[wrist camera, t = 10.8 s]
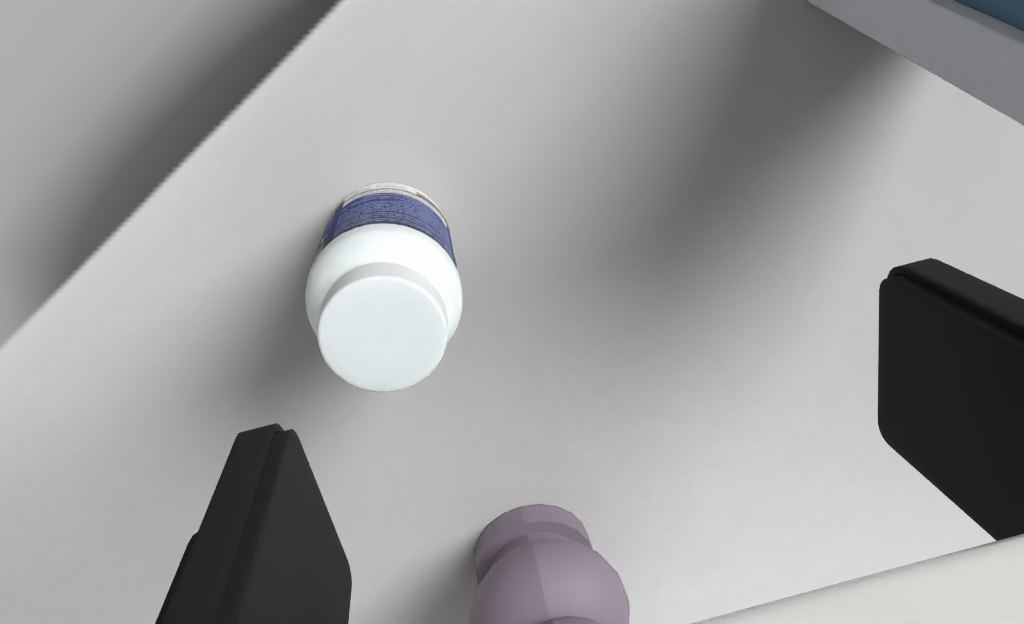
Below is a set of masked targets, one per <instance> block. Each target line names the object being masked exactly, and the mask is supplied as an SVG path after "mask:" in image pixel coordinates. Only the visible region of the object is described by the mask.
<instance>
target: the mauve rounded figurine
mask: <svg viewBox="0 0 1024 624" xmlns="http://www.w3.org/2000/svg"><path fill="white" fill-rule="evenodd" d="M475 563H476V572H477V580H478V588H477V591H476V594H475V598H474V601H473V604H472V608H471V611H470V615H469V624H629V601H628V597H627V594H626V592H625V589H624V587H623V584H622V581H621V579H620V577H619V575H618V573H617V572H616V570H615V569H614V568H613V567H612V566H611V565H610V564H609V563H608V562H607V561H606V560H605V559H604V558H603V557H602V556H601V555H600V554H599V553H598V552H596V551H595V550H593V549H592V546H591V543H590V540H589V537H588V535H587V532H586V530H585V528H584V526H583V523H581V522H580V521H579V520H578V519H577V518H576V517H575V516H574V515H573V514H572V513H570V512H568V511H566V510H563V509H561V508H559V507H557V506H549V505H541V504H537V505H530V506H523V507H519V508H516V509H514V510H511V511H509V512H507V513H504V514H502V515H501V516H500V517H498V518H497V519H496V520H494V521H493V522H492V523H490V524H489V525H488V526H487V528H486V529H485V531H484V532H483V533H482V535H481V536H480V537H479V539H478V543H477V546H476V549H475Z"/></svg>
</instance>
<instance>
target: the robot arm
mask: <svg viewBox="0 0 1024 624" xmlns="http://www.w3.org/2000/svg"><path fill="white" fill-rule="evenodd" d="M878 426H879V429H880V432H881V434H882V437H883V438H884V440H885V441H886V442H887V443H888V445H889V446H891V447H892V448H893V449H894V450H895V451H896V452H897V453H898V454H900V455H901V456H902V457H903V458H904V459H905V460H906V461H907V462H909V463H910V464H911V465H912V466H913V467H914V468H915V469H916V470H918V471H919V472H920V473H921V474H922V475H923V476H924V477H925V478H927V479H928V480H929V481H930V482H931V483H932V484H933V485H934V486H936V487H937V488H938V489H939V490H940V491H941V492H942V493H943V494H945V495H946V496H947V497H948V498H949V499H950V500H951V501H952V502H954V503H955V504H956V505H957V506H958V507H959V508H960V509H962V510H963V511H964V512H965V513H966V514H967V515H968V516H969V517H971V518H972V519H973V520H974V521H975V522H976V523H977V524H978V525H980V526H981V527H982V528H983V529H984V530H985V531H986V532H987V533H989V534H990V535H991V536H992V537H993V538H994V539H995V540H996V541H995V542H991V543H987V544H984V545H980V546H976V547H972V548H969V549H965V550H961V551H957V552H954V553H950V554H946V555H942V556H939V557H935V558H931V559H927V560H924V561H920V562H916V563H912V564H909V565H905V566H901V567H897V568H894V569H890V570H886V571H883V572H879V573H875V574H872V575H868V576H864V577H861V578H857V579H853V580H850V581H846V582H842V583H839V584H835V585H831V586H828V587H824V588H820V589H817V590H813V591H809V592H806V593H802V594H798V595H794V596H791V597H787V598H783V599H780V600H776V601H773V602H769V603H765V604H762V605H758V606H754V607H751V608H747V609H743V610H740V611H736V612H732V613H729V614H725V615H721V616H718V617H714V618H710V619H707V620H703V621H700V622H696V623H692V624H1024V299H1022V298H1019V297H1017V296H1015V295H1013V294H1011V293H1009V292H1006V291H1004V290H1002V289H1000V288H998V287H995V286H993V285H991V284H989V283H987V282H985V281H982V280H980V279H978V278H976V277H974V276H972V275H969V274H967V273H965V272H963V271H961V270H958V269H956V268H954V267H952V266H950V265H948V264H945V263H943V262H941V261H939V260H936V259H932V258H930V259H925V260H921V261H917V262H913V263H909V264H906V265H902V266H898V267H894V268H893V269H892V270H891V271H890V272H889V274H888V277H887V279H884V280H883V281H882V282H881V285H880V290H879V363H878ZM351 588H352V579H351V571H350V567H349V563H348V560H347V557H346V555H345V552H344V550H343V547H342V545H341V542H340V540H339V537H338V535H337V532H336V530H335V527H334V525H333V522H332V520H331V517H330V515H329V512H328V510H327V507H326V505H325V502H324V500H323V497H322V495H321V492H320V490H319V487H318V485H317V482H316V480H315V477H314V475H313V472H312V470H311V467H310V465H309V462H308V460H307V457H306V455H305V452H304V450H303V447H302V445H301V442H300V440H299V437H298V435H297V433H296V432H295V431H294V430H293V429H290V430H286V431H284V430H283V429H282V427H281V426H280V425H279V424H277V423H276V424H272V425H268V426H264V427H260V428H256V429H252V430H248V431H244V432H240V433H238V435H237V437H236V439H235V441H234V444H233V446H232V449H231V451H230V454H229V456H228V459H227V461H226V464H225V466H224V469H223V471H222V474H221V476H220V479H219V481H218V484H217V486H216V489H215V491H214V494H213V496H212V499H211V501H210V503H209V506H208V508H207V511H206V513H205V516H204V518H203V521H202V523H201V526H200V528H199V531H198V532H197V533H196V534H194V535H193V536H192V538H191V540H190V541H189V543H188V545H187V548H186V550H185V553H184V555H183V557H182V560H181V562H180V565H179V567H178V569H177V572H176V574H175V577H174V579H173V582H172V584H171V586H170V589H169V591H168V594H167V596H166V599H165V601H164V603H163V606H162V608H161V611H160V613H159V616H158V618H157V620H156V623H155V624H348V620H349V609H350V599H351Z"/></svg>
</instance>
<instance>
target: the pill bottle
mask: <svg viewBox="0 0 1024 624" xmlns="http://www.w3.org/2000/svg"><path fill="white" fill-rule="evenodd" d="M305 303H306V310H307V315H308V319H309V322H310V324H311V327H312V329H313V331H314V332H315V334H316V336H317V337H318V345H319V349H320V352H321V354H322V356H323V358H324V360H325V362H326V363H327V365H328V366H329V367H330V369H331V370H332V371H333V372H334V373H335V374H336V375H337V376H339V377H340V378H341V379H342V380H344V381H346V382H347V383H349V384H351V385H353V386H355V387H357V388H361V389H364V390H368V391H374V392H392V391H398V390H402V389H405V388H408V387H411V386H413V385H415V384H417V383H418V382H420V381H422V380H423V379H425V378H426V377H427V376H428V375H429V374H431V373H432V371H433V370H434V369H435V368H436V367H437V365H438V364H439V362H440V360H441V359H442V356H443V354H444V352H445V348H446V344H447V343H448V342H449V341H450V339H451V338H452V336H453V334H454V333H455V331H456V329H457V326H458V324H459V321H460V317H461V312H462V304H463V299H462V287H461V282H460V277H459V273H458V268H457V263H456V258H455V253H454V248H453V244H452V239H451V234H450V231H449V227H448V224H447V222H446V219H445V217H444V215H443V213H442V212H441V210H440V209H439V208H438V206H437V205H436V204H435V203H434V202H433V201H432V200H431V199H430V198H429V197H428V196H426V195H425V194H423V193H422V192H420V191H419V190H416V189H414V188H412V187H409V186H407V185H402V184H397V183H376V184H371V185H367V186H365V187H362V188H360V189H358V190H356V191H354V192H352V193H351V194H350V195H348V196H347V197H346V198H344V199H343V200H342V201H341V202H340V203H339V204H338V206H337V207H336V208H335V210H334V211H333V213H332V215H331V217H330V219H329V221H328V224H327V226H326V228H325V231H324V234H323V237H322V239H321V242H320V245H319V247H318V250H317V252H316V255H315V259H314V261H313V264H312V266H311V269H310V272H309V275H308V279H307V284H306V290H305Z"/></svg>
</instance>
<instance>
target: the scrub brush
mask: <svg viewBox="0 0 1024 624" xmlns="http://www.w3.org/2000/svg"><path fill="white" fill-rule="evenodd" d="M808 2H809V3H811V4H813V5H815V6H816V7H818V8H820V9H822V10H823V11H825V12H827V13H829V14H830V15H832V16H834V17H835V18H837V19H839V20H841V21H842V22H844V23H846V24H848V25H849V26H851V27H853V28H855V29H856V30H858V31H860V32H862V33H863V34H865V35H867V36H869V37H870V38H872V39H874V40H876V41H877V42H879V43H881V44H883V45H884V46H886V47H888V48H890V49H891V50H893V51H895V52H897V53H898V54H900V55H902V56H904V57H905V58H907V59H909V60H910V61H912V62H914V63H916V64H917V65H919V66H921V67H923V68H924V69H926V70H928V71H930V72H931V73H933V74H935V75H937V76H938V77H940V78H942V79H944V80H945V81H947V82H949V83H951V84H952V85H954V86H956V87H958V88H959V89H961V90H963V91H965V92H966V93H968V94H970V95H972V96H973V97H975V98H977V99H979V100H980V101H982V102H984V103H985V104H987V105H989V106H991V107H992V108H994V109H996V110H998V111H999V112H1001V113H1003V114H1005V115H1006V116H1008V117H1010V118H1012V119H1013V120H1015V121H1017V122H1019V123H1020V124H1022V125H1024V0H808Z"/></svg>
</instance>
